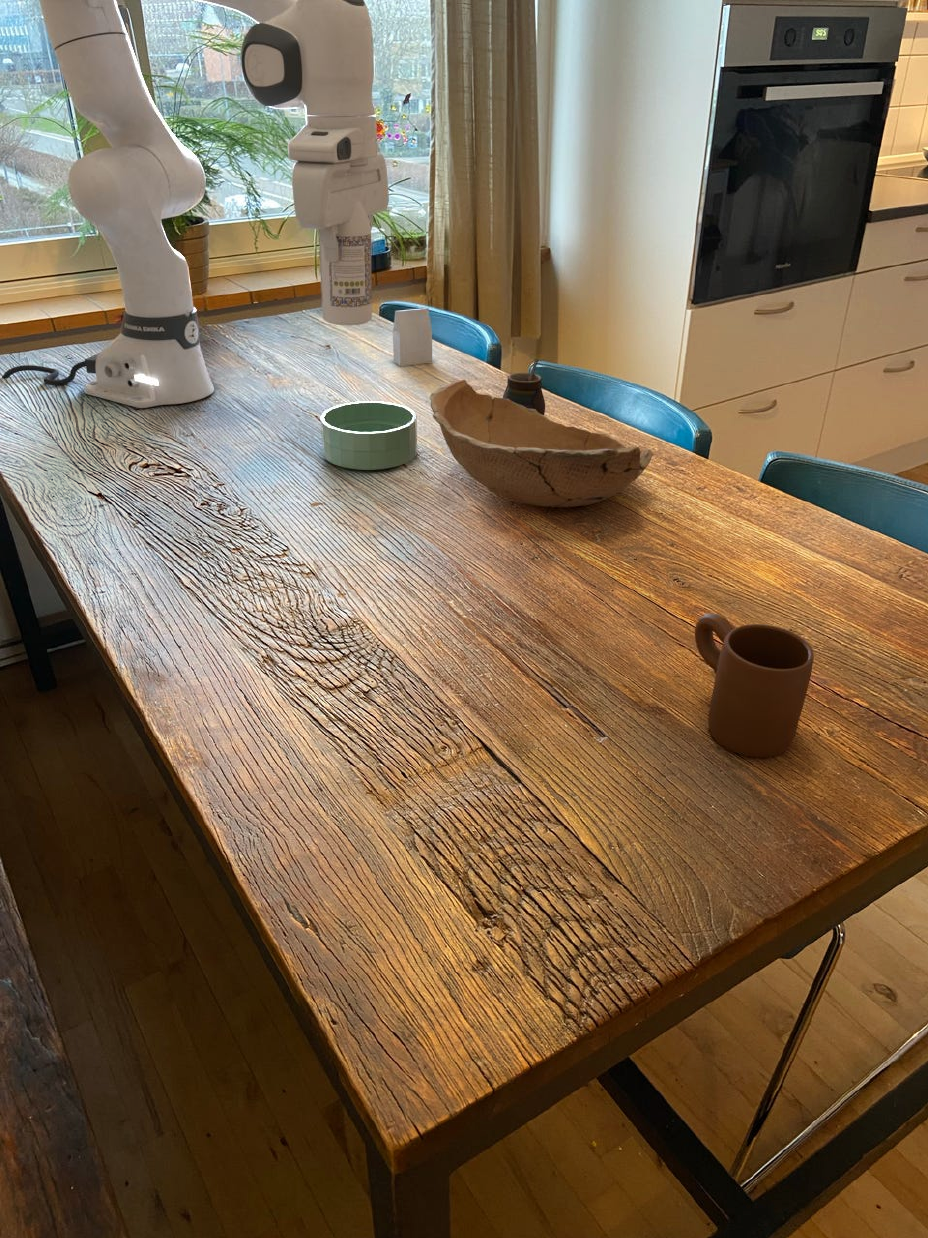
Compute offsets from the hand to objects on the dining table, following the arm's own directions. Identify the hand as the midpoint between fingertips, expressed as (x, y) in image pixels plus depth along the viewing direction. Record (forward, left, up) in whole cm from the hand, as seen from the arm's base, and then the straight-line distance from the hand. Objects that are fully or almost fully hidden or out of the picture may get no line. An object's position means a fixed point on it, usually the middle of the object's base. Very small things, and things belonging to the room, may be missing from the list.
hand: (347, 255), depth 124 cm
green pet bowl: (+2, 0, -28) cm, 28 cm away
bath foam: (-1, 0, -9) cm, 9 cm away
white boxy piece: (-12, +48, -28) cm, 57 cm away
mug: (+61, -46, -28) cm, 82 cm away
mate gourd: (+19, +22, -28) cm, 41 cm away
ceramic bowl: (+29, -3, -28) cm, 41 cm away
